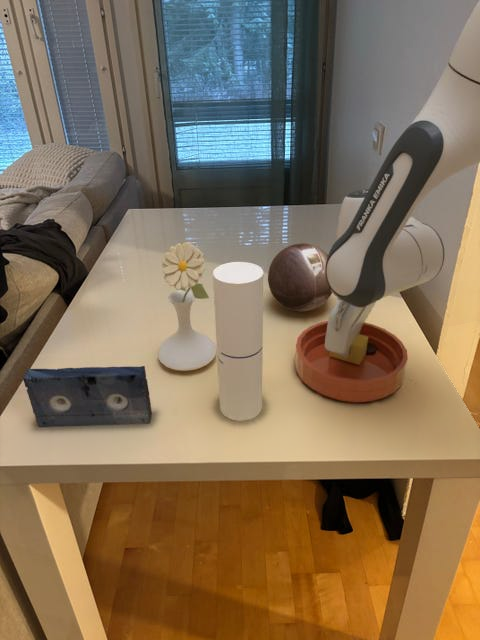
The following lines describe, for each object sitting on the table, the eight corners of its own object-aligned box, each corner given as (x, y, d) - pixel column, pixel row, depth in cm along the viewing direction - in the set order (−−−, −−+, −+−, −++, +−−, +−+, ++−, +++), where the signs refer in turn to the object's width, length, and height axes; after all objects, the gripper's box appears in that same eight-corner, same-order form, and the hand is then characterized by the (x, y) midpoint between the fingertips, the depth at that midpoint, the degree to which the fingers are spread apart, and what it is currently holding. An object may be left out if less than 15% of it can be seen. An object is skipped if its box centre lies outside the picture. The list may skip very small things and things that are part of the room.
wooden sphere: (302, 331, 98) (306, 266, 91) (254, 306, 108) (254, 245, 100) (346, 307, 107) (353, 246, 99) (298, 286, 116) (301, 228, 109)
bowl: (412, 356, 90) (417, 334, 88) (388, 419, 76) (393, 395, 73) (317, 331, 98) (318, 311, 96) (278, 384, 84) (279, 361, 81)
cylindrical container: (245, 427, 75) (243, 288, 62) (211, 409, 78) (202, 274, 65) (270, 402, 79) (273, 269, 66) (237, 387, 83) (233, 258, 70)
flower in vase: (147, 357, 91) (129, 237, 78) (193, 335, 98) (184, 221, 85) (186, 389, 83) (173, 260, 70) (234, 363, 89) (230, 240, 76)
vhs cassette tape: (153, 412, 78) (145, 365, 73) (150, 425, 75) (142, 376, 70) (43, 414, 78) (28, 366, 73) (37, 427, 75) (21, 378, 70)
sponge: (365, 354, 89) (368, 336, 87) (359, 365, 86) (362, 347, 84) (335, 345, 92) (337, 328, 90) (328, 356, 89) (330, 338, 87)
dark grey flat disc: (379, 350, 91) (379, 346, 90) (371, 357, 89) (372, 353, 88) (365, 345, 92) (365, 340, 92) (357, 351, 90) (358, 347, 90)
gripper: (357, 313, 72) (348, 383, 79) (389, 264, 87) (379, 326, 94) (318, 304, 74) (313, 373, 82) (356, 258, 90) (348, 319, 97)
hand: (348, 347), depth 88 cm, fingers closed on sponge, 4 cm apart
